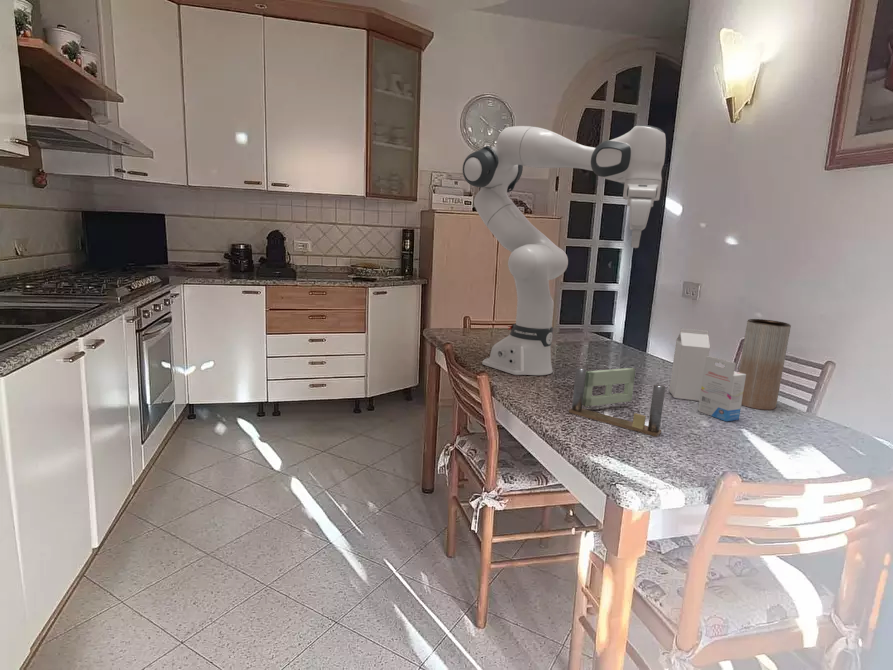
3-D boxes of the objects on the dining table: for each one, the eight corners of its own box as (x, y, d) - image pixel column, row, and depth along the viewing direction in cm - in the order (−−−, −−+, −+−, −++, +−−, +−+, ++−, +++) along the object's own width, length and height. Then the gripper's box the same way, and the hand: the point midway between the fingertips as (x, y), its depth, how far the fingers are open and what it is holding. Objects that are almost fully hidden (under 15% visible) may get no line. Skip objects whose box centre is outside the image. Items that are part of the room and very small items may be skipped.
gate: (585, 406, 132) (589, 372, 130) (581, 404, 133) (585, 371, 131) (631, 401, 138) (635, 369, 137) (627, 399, 140) (631, 367, 138)
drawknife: (568, 412, 131) (573, 368, 129) (574, 409, 134) (579, 366, 132) (656, 436, 119) (663, 388, 117) (661, 433, 121) (667, 385, 119)
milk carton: (701, 401, 147) (712, 333, 143) (674, 398, 148) (683, 330, 145) (695, 394, 154) (705, 328, 150) (668, 391, 155) (678, 326, 152)
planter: (784, 410, 143) (800, 326, 139) (748, 409, 142) (763, 324, 138) (760, 399, 153) (774, 319, 149) (726, 397, 152) (739, 318, 148)
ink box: (739, 420, 133) (749, 362, 131) (726, 422, 131) (736, 363, 128) (710, 409, 141) (718, 354, 138) (696, 411, 139) (705, 355, 136)
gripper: (628, 195, 149) (622, 246, 151) (628, 188, 129) (621, 247, 132) (653, 196, 147) (646, 247, 149) (656, 189, 128) (648, 249, 130)
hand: (634, 247), depth 141 cm, fingers open, 8 cm apart
